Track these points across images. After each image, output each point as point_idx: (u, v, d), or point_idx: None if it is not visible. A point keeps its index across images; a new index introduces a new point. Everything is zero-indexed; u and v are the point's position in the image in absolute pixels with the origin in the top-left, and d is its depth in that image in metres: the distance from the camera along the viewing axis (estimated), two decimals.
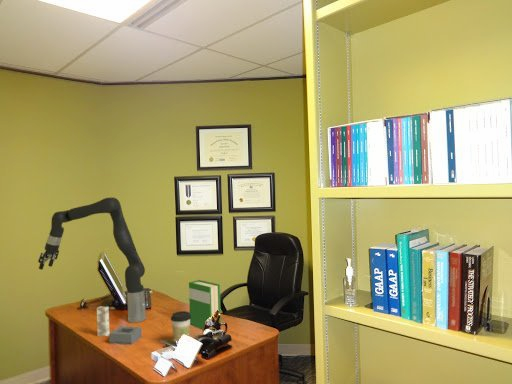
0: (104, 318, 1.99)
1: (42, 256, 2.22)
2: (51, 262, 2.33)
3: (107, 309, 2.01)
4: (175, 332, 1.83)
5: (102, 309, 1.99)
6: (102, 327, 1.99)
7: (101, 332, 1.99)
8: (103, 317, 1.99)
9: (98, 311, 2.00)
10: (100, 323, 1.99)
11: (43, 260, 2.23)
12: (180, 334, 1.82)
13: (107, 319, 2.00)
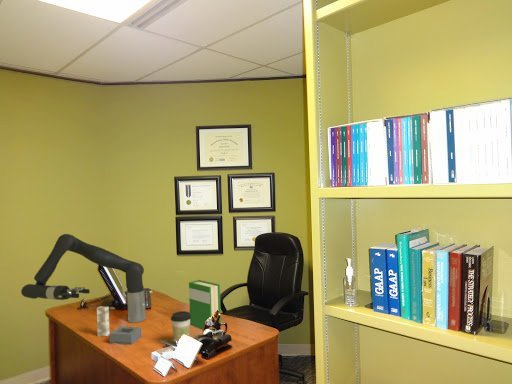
0: (104, 318, 1.99)
1: (60, 295, 1.98)
2: (84, 290, 2.07)
3: (107, 309, 2.01)
4: (175, 332, 1.83)
5: (102, 309, 1.99)
6: (102, 327, 1.99)
7: (101, 332, 1.99)
8: (103, 317, 1.99)
9: (98, 311, 2.00)
10: (100, 323, 1.99)
11: (65, 294, 1.98)
12: (180, 334, 1.82)
13: (107, 319, 2.00)
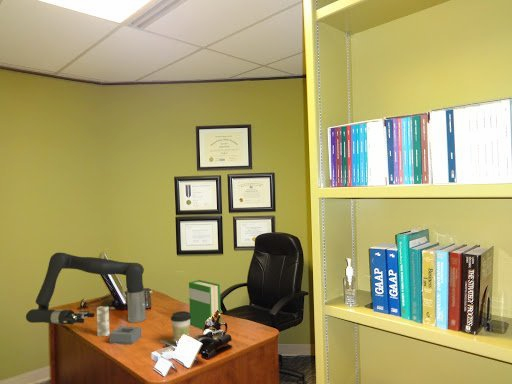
0: (104, 318, 1.99)
1: (65, 321, 1.98)
2: (89, 314, 2.07)
3: (107, 309, 2.01)
4: (175, 332, 1.83)
5: (102, 309, 1.99)
6: (102, 327, 1.99)
7: (101, 332, 1.99)
8: (103, 317, 1.99)
9: (98, 311, 2.00)
10: (100, 323, 1.99)
11: (70, 319, 1.98)
12: (180, 334, 1.82)
13: (107, 319, 2.00)
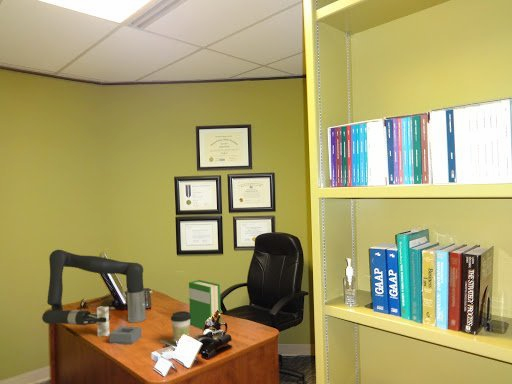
0: None
1: (87, 321, 1.96)
2: None
3: (107, 309, 2.01)
4: (175, 332, 1.83)
5: (102, 309, 1.99)
6: (102, 327, 1.99)
7: (101, 332, 1.99)
8: (103, 317, 1.99)
9: (98, 311, 2.00)
10: (100, 323, 1.99)
11: (92, 318, 1.97)
12: (180, 334, 1.82)
13: (107, 319, 2.00)
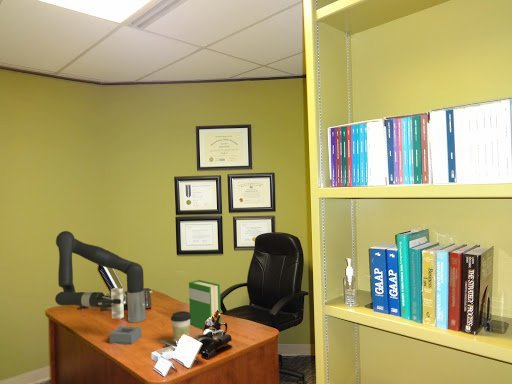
0: None
1: (101, 302, 1.91)
2: None
3: (121, 291, 1.95)
4: (175, 332, 1.83)
5: (116, 290, 1.94)
6: (117, 309, 1.94)
7: (115, 314, 1.94)
8: (117, 298, 1.94)
9: (112, 292, 1.94)
10: (114, 304, 1.94)
11: (106, 300, 1.92)
12: (180, 334, 1.82)
13: (121, 301, 1.95)
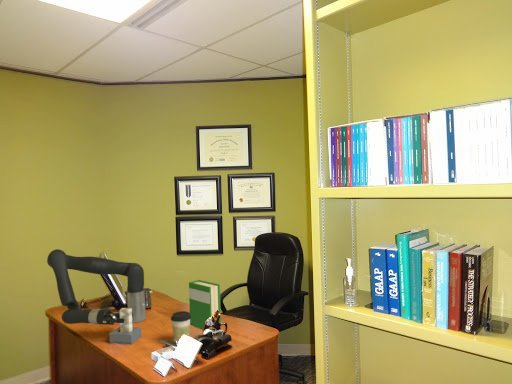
0: (127, 320, 1.91)
1: (105, 321, 1.88)
2: None
3: (130, 311, 1.93)
4: (175, 332, 1.83)
5: (125, 311, 1.92)
6: (126, 329, 1.92)
7: None
8: (126, 319, 1.92)
9: (121, 313, 1.92)
10: (123, 325, 1.92)
11: (110, 319, 1.88)
12: (180, 334, 1.82)
13: (130, 322, 1.93)
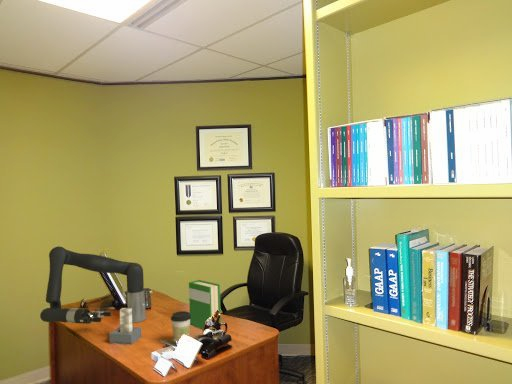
0: (127, 320, 1.91)
1: (82, 320, 1.91)
2: (105, 313, 2.00)
3: (130, 311, 1.93)
4: (175, 332, 1.83)
5: (125, 311, 1.92)
6: (126, 329, 1.92)
7: None
8: (126, 319, 1.92)
9: (121, 313, 1.92)
10: (123, 325, 1.92)
11: (87, 318, 1.91)
12: (180, 334, 1.82)
13: (130, 322, 1.93)
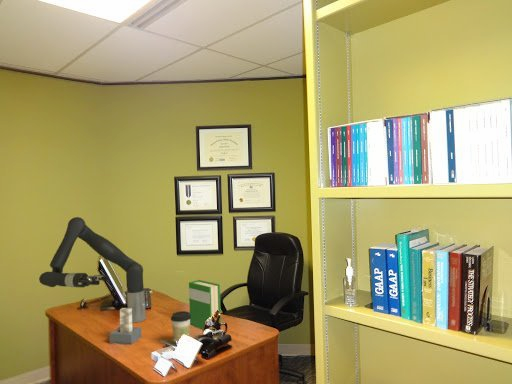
0: (127, 320, 1.91)
1: (80, 282, 1.92)
2: (104, 278, 2.01)
3: (130, 311, 1.93)
4: (175, 332, 1.83)
5: (125, 311, 1.92)
6: (126, 329, 1.92)
7: None
8: (126, 319, 1.92)
9: (121, 313, 1.92)
10: (123, 325, 1.92)
11: (85, 281, 1.92)
12: (180, 334, 1.82)
13: (130, 322, 1.93)
